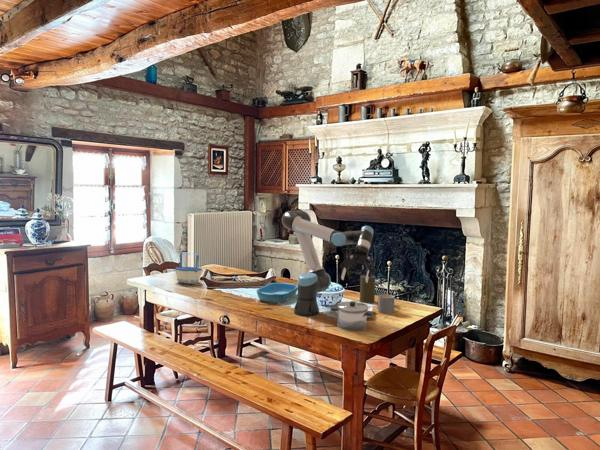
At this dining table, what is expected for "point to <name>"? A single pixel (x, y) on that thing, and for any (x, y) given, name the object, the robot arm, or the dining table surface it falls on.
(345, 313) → the pressure cooker pot
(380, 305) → the coffee mug
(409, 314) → the dining table surface
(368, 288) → the canister
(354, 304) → the lid
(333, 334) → the dining table surface
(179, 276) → the basket
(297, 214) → the robot arm
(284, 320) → the dining table surface
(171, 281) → the dining table surface
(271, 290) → the casserole dish
